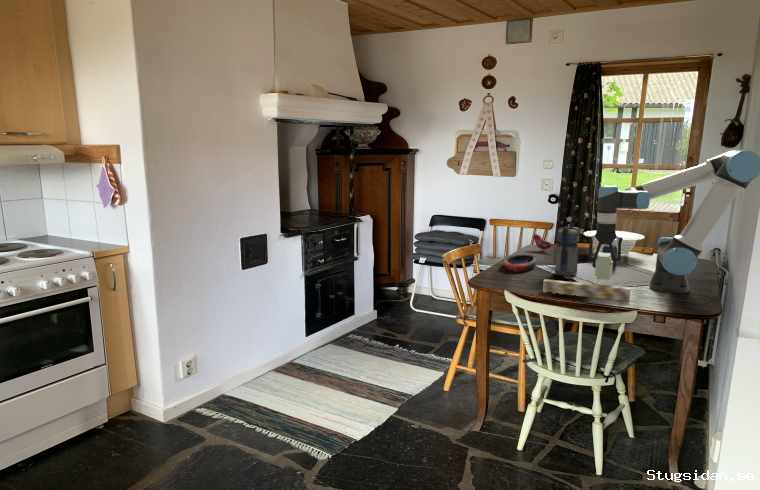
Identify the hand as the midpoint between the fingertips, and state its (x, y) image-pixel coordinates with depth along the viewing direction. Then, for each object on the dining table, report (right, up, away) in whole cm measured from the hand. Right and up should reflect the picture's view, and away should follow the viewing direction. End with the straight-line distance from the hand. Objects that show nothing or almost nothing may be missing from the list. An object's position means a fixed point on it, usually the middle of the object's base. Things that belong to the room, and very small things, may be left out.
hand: (603, 275), depth 227 cm
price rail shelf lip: (-10, -8, -5) cm, 14 cm away
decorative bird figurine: (0, +9, +82) cm, 82 cm away
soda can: (+20, +1, +42) cm, 47 cm away
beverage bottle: (-6, -2, +30) cm, 31 cm away
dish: (-24, +1, +46) cm, 52 cm away
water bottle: (+4, +3, +54) cm, 54 cm away
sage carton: (0, -1, 0) cm, 1 cm away
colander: (+34, +6, +68) cm, 76 cm away
